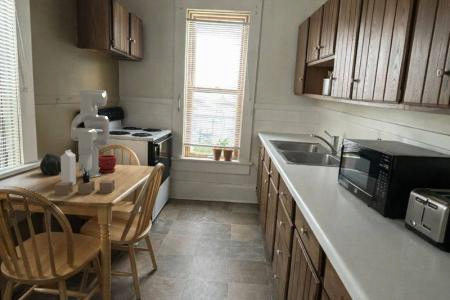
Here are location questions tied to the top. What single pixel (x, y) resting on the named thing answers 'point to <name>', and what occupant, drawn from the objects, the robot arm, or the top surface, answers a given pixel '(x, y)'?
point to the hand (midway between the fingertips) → (86, 182)
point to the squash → (50, 164)
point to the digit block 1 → (63, 188)
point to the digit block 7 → (107, 186)
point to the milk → (68, 167)
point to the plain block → (86, 187)
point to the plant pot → (107, 163)
